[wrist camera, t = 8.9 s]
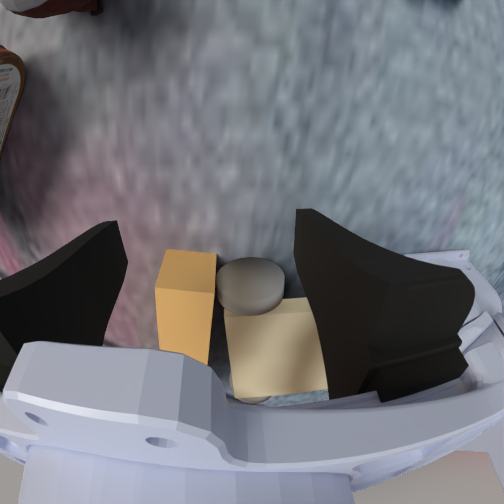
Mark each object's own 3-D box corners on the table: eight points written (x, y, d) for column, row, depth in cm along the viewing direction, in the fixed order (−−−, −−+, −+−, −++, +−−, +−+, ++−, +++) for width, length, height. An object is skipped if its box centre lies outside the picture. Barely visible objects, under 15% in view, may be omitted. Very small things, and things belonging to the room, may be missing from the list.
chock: (216, 252, 23) (214, 293, 19) (205, 367, 32) (204, 404, 28) (167, 247, 23) (154, 287, 18) (171, 364, 31) (166, 400, 27)
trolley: (389, 249, 24) (415, 284, 20) (355, 354, 32) (367, 387, 28) (216, 259, 23) (214, 302, 19) (230, 367, 31) (231, 404, 27)
